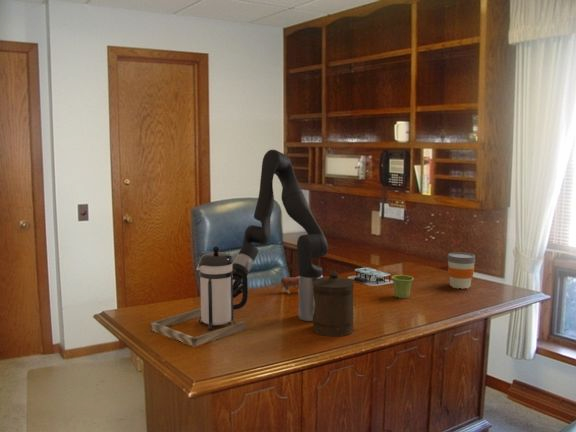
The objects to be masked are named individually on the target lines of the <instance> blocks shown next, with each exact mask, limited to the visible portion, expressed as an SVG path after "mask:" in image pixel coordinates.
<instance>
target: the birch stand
mask: <svg viewBox="0 0 576 432" xmlns="http://www.w3.org/2000/svg"><path fill="white" fill-rule="evenodd" d="M197 318H201V307H199V308H196V309H193V310H190V311H185V312H181V313H178V314H175V315H172V316H167V317H164V318H161V319H158V320H154V321H150V322H149V325H150V326H149V328H150V331H151V330H152V331H151V332H153V331H155V332H154V333H156V332H157V333H156V334H158V333H160V334H159V335H161V334H162V335H161V336H163V335H165V336H164V337H166V336H168V337H167V338H169V337H170V338H169V339H171V338H173V339H172V340H174V339H176V340H179V341H181V342H184V343H186V344H189V345H192V346H196V345H199V344H202V343H205V342H209V341H212V340H215V339H218V340H220V339H223V338H226V337H229V336H231V335H232V336H233V335H235V334H237V333H241V332H244V331H245V330H247V321H245V320H243V321H239V322H236V324H234V323H232V324H233V325H230V324H229V325H227V326H225V327H222V328H218V329H216V330H212V331H210V332H206V333H203V334H201V335H197V336H192V335H189V334H186V333H184V332H181V331H179V330H176V329H174V328H171V327H170V325H171V326H173V325H177V324H180V323H184V322H187V321H192V320H194V319H197ZM167 326H168V327H167ZM219 338H220V339H219ZM176 340H175V341H176ZM179 341H178V342H179ZM215 341H216V340H215ZM181 342H180V343H181ZM212 342H213V341H212ZM184 343H183V344H184ZM209 343H210V342H209ZM186 344H185V345H186ZM189 345H188V346H189Z"/></svg>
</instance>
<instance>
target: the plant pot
mask: <svg viewBox="0 0 576 432" xmlns="http://www.w3.org/2000/svg"><path fill="white" fill-rule="evenodd" d="M391 279H392V281H393V289H394V297H395V298H399V299H407V298H409V297H410V292H411V288H412V284H413V281H414V277H413V276H410V275H404V274H397V275H392V276H391Z"/></svg>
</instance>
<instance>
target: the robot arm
mask: <svg viewBox="0 0 576 432" xmlns="http://www.w3.org/2000/svg"><path fill="white" fill-rule="evenodd" d="M261 162H262V163H261V171H260V172H261V173H260V182H259V191H258V192H259V193H258V196H257V197H258V198H257V202H256V206H255V209H254V210H255V211H254V214H253V219H255V220H256V221H259V222H260V223H261V226H257V225H254V224H253V225H249V226H248V227H246V229H245V232H244V236H243V241H242V244H241V247H240V250H239V251H238V254H237V256H236V257H235V258H234V259H233V264H232V269H233V268H241V269H243V270H244V271H245V272H246V274H247V276H248V275H249V273H250V271H251V269H252V267H253V264H254V262H255V259H256V258H257V255H258V254H259V249H258V248H257V246H255V245H254V244H258V245H263V246H264V245H266V244H268V243H269V241H270V240H271V217H272V214H273V210H274V206H275V205H274V204H275V196H274V188H273V186H274V185H273V182H274V176H275V175H276V176H277V178H278V180H279V182H280V185H281V188H282V190H281V202H282V204H283V205H282V206H283V207H284V210H285V212H286V213H287V215H288V216H289V217H290V218H291V219H292V220H293V221H295V222H296V223H297V224H298V225H300V227H302V228H303V229H304V231H305V233H306V234H302V235H300V236H299V237H298V238H297V243H296V254H297V256H296V257H297V258H296V259H297V269H298V277H299V293H298V319H299V320H301V321H305V322H313V294H314V281H315V280H317V279H320V278H324V275H323V273H324V271H323V270H324V269H323V268H322V267H321V266H320V265H315V264H313V262H312V259H315V258H316V259H317V258H322V257H325V256H326V255H327V254H328V251H329V245H328V240H327V238H326V236H325V235H324V234H325V233H324V232H323V231H322V228H321V227H320V226H319V224H318V222H317V220H316V218H315V216H314V215H313V213H312V210H311V208H310V206H309V204H308V203H309V202H308V201H307V199H306V196H305V194H304V192H303V190H302V188H301V185H300V183H299V181H298V179H297V177H296V174H295V171H294V167H293V165H292V164H293V163H292V162H291V158H289V156H288V155H286V154H285V153H283V152H280V151H278V150H276V149H269V150H267V152H266V153H265V154H264V156H263V159H262V161H261ZM252 243H254V244H252ZM241 294H243V286H242V275H241V274H240V273H238V272H237V273H236V272H234V273H233V299H234V298H235V299H236V298H237V296H239V295H241Z"/></svg>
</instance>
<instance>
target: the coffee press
mask: <svg viewBox="0 0 576 432" xmlns="http://www.w3.org/2000/svg"><path fill="white" fill-rule="evenodd" d="M233 262H234V259H233V257H232V256H231V254H229V253H226V252H221V251H220V248H219V247H218V246H214V247H213V248H212V251H211V252H207V253H204V254H202V256H201V257H200V258H199V260H198V264H197V265H196V271H199V279H200V281H199V283H200V284H199V285H200V286H199V287H200V308H201V317H199V319H198V321H197V322H198V324H202V323H204V324H206V325H208V326H207V331H210V332H212V331H213V329H214V327H215V326H223V325H226V324H229V326H230V325H233V324H236V323H237V322H236V321H235V319H234V311H235V310H238V309H242V308H243V307H244V306H245V305H246V303H247V301H248V290H249V288H248V287H249V286H248V275H247V274H246V272H245V271H244V270H243V269H241V268H233V269H232V264H233ZM234 272H236V273H237V272H238V273H240V274H241V275H242V286H243V292H242V299H241V301H240V302H239V303H237V304H236V303H235V304H234V298H233V273H234Z"/></svg>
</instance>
